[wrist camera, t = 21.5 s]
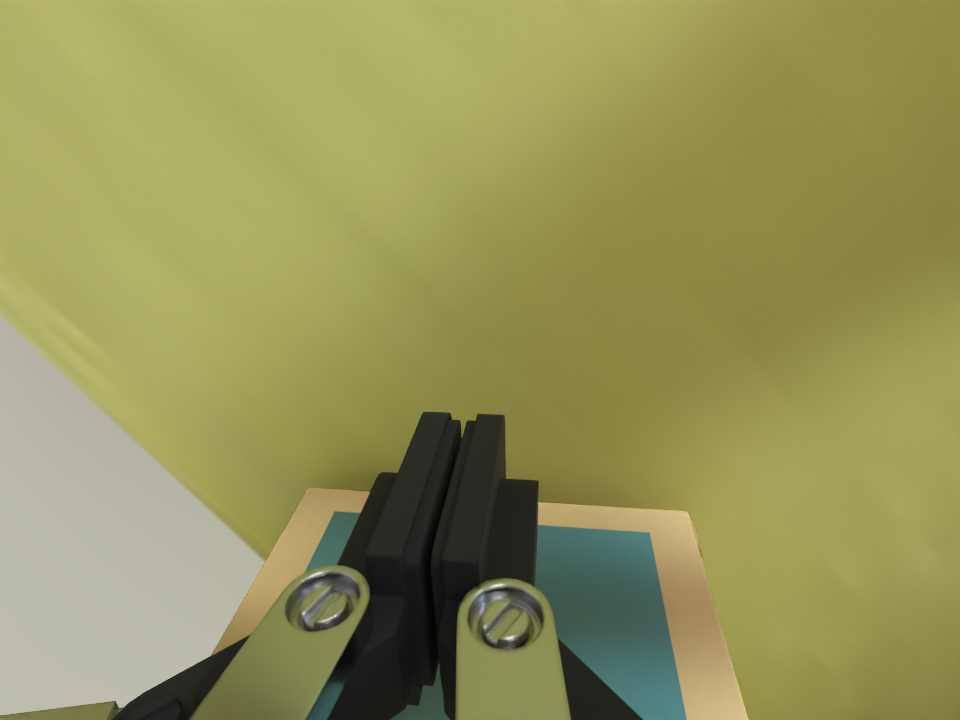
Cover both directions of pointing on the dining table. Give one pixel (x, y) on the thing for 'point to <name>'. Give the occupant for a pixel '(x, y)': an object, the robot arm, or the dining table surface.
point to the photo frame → (567, 600)
